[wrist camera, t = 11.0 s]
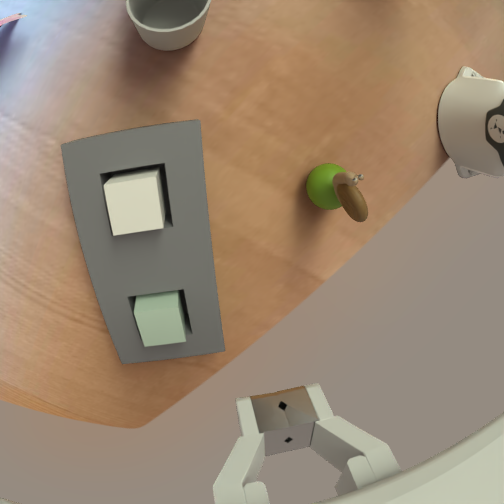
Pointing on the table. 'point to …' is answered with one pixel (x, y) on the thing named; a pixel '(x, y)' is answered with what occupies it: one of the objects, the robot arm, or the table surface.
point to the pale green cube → (160, 318)
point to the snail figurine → (337, 190)
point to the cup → (168, 21)
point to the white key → (135, 201)
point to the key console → (148, 235)
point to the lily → (11, 18)
